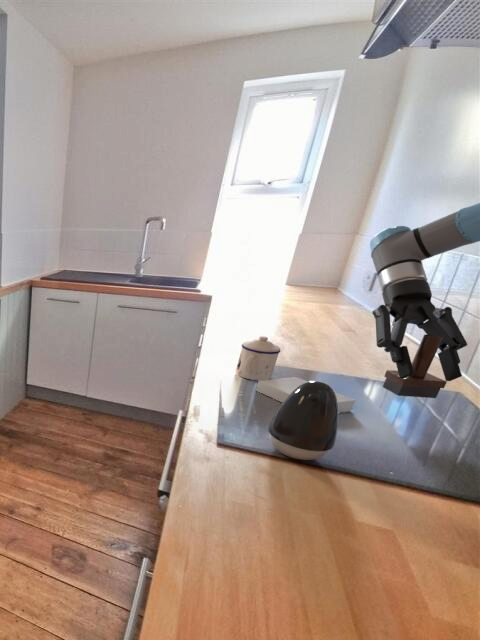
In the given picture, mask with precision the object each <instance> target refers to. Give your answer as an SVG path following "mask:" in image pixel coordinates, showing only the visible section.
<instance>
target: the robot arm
mask: <svg viewBox="0 0 480 640" xmlns="http://www.w3.org/2000/svg"><path fill="white" fill-rule="evenodd" d="M478 242H480V202H478V203H475V204H472V205H470V206H467V207H462V208H460V209H459V210H457V211H455V212H452V213H450V214H447V215H445V216H442V217H440V218H438V219H435V220H433V221H431V222H428V223H426V224H424V225H421V226H418V227H416V228H413V229H411V227H409V226H406V225H397V226H394V227H388V228H385V229H383V230H381V231H379V232H377V233H376V234H375V235H374V236H373V237H372V238H371V239H370V241H369V247H370V258H371V259H372V262H373V266H374V269H375V272H376V276H377V280H378V284H379V288H380V291H381V292H382V293H381V296H382V300H383V303H384V304H380V305H379V306H378V307H376V308H375V309H374V310H372V312H371V313H372V316H373V317H374V319H375V336H376V337H375V338H376V339H375V341H376V347H377V348H379V349H381V348H384V349H383V350H384V352H386V353H389V355H390V359H391V361H392V363H393V364H395V365H396V368H397V371H398V373H399V377H400V378H406V377H408V376H410V375H412V374H414V370H413V367H412V360H411V356H410V352H409V349H408V346H407V345H403V341H404V338H405V334H406V332H407V327H408V325H410V324H412V325H415V326H416V327H417V328H418V329H420V330H422V331H424V333H425V335H437V336H441V337H443V339H442V341H441V343H440V345H439V347H438V349H439V351H440V352H438V353H437V356H438V360H439V363H440V366H441V369H442V373H443V376H444V379H445V381H447V382H452V381H454V380H456V379H458V378H462V377H463V374H462V371H461V369H460V366H459V364H461V359H460V356H459V353H458V351H459V350H461V349H463V348H465V347H467V346H468V342H467V341H466V339H465V337H464V335H463V332H462V331H461V329H460V327H459V326H458V324H457V322H456V320H455V318H454V317H453V309H452V307H450V306H445V307H443V308H440V307H436V306H435V304H433V303H432V297H433V292H432V290H431V287H430V284H429V282H428V277H427V274H426V271H425V268H424V264H423V262H422V261H425V260H427V259H430V258H433V257H435V256H438V255H441V254H443V253H447V252H450V251H453V250H455V249H459V248H461V247H464V246H468V245H472V244H476V243H478ZM391 317H393V320H392V323H391ZM391 326H392V328H391Z"/></svg>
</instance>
